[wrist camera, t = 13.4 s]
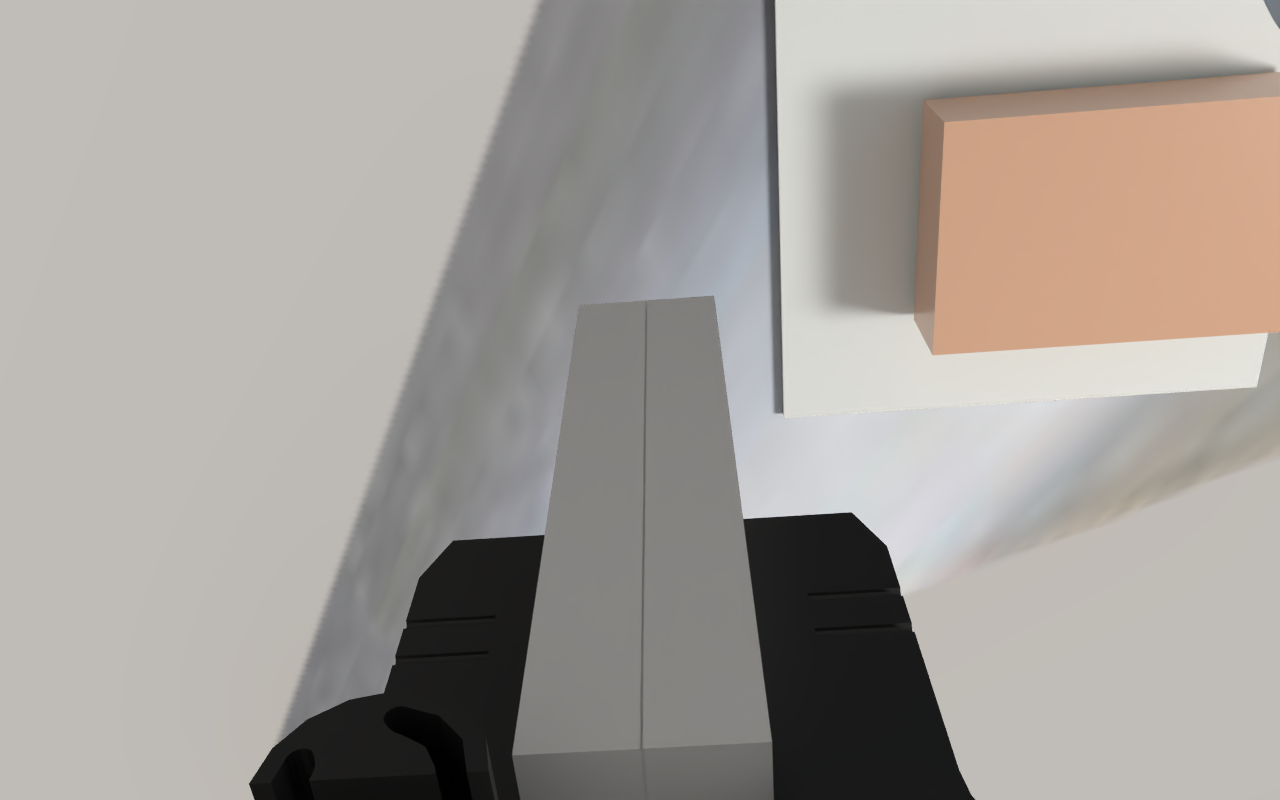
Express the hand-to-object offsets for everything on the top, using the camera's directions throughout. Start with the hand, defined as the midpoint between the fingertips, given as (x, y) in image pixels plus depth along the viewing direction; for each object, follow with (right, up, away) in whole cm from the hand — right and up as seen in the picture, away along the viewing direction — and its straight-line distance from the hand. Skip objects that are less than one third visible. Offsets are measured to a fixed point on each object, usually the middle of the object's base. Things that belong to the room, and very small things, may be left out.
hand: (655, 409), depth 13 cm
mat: (+14, +7, +26) cm, 30 cm away
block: (+10, +6, +24) cm, 27 cm away
